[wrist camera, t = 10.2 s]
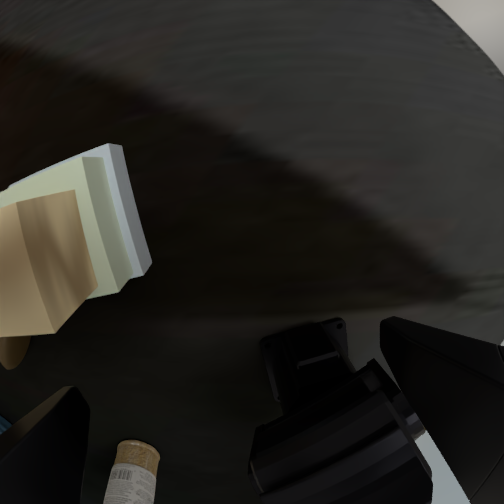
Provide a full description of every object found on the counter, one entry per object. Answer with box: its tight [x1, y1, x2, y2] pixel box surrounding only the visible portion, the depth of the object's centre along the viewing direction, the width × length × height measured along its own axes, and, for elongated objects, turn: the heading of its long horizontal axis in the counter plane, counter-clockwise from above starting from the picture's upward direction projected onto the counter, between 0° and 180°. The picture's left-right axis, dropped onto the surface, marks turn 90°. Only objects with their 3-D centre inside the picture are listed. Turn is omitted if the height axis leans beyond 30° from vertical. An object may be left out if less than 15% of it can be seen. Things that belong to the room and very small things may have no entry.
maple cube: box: [0, 189, 98, 337], centre depth 11 cm, size 5×5×5 cm
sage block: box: [0, 157, 134, 299], centre depth 15 cm, size 7×7×3 cm
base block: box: [9, 143, 152, 279], centre depth 18 cm, size 8×8×3 cm
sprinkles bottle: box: [103, 440, 160, 504], centre depth 19 cm, size 5×5×14 cm
